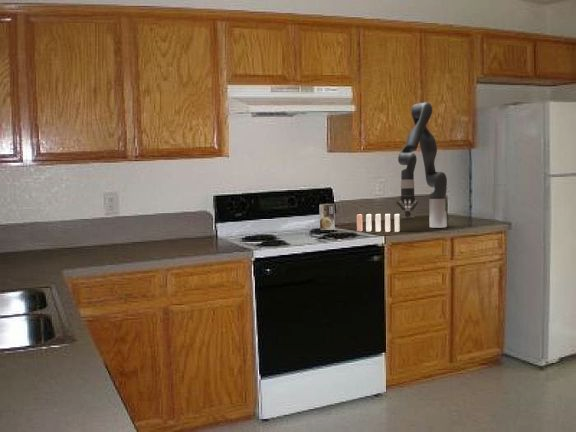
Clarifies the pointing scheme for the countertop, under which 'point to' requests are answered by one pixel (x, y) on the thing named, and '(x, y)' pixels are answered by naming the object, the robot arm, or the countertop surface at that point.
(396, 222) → the domino
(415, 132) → the robot arm
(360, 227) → the domino
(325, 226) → the coffee box
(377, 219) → the domino
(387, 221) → the domino
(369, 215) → the domino
